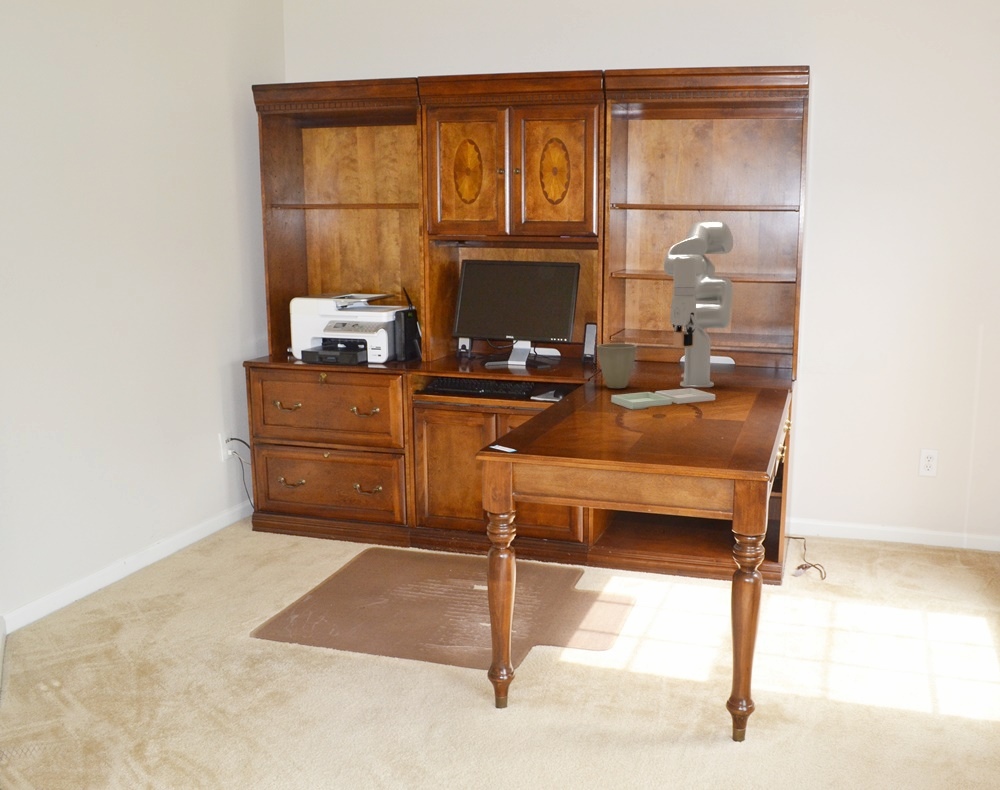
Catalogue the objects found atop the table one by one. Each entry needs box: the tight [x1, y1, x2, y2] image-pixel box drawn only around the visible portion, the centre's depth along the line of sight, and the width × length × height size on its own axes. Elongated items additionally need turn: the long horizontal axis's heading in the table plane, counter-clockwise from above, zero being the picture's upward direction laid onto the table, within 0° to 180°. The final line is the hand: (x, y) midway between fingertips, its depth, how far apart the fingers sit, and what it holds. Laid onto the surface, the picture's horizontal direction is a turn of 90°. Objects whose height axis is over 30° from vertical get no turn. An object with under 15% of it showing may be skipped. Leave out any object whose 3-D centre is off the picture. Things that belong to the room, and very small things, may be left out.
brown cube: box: [672, 330, 694, 349], centre depth 330 cm, size 5×5×5 cm
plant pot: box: [596, 342, 638, 389], centre depth 361 cm, size 15×15×16 cm
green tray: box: [610, 391, 673, 410], centre depth 327 cm, size 15×15×2 cm
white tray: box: [654, 387, 716, 405], centre depth 333 cm, size 15×15×2 cm
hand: (683, 344), depth 330 cm, fingers closed on brown cube, 4 cm apart
